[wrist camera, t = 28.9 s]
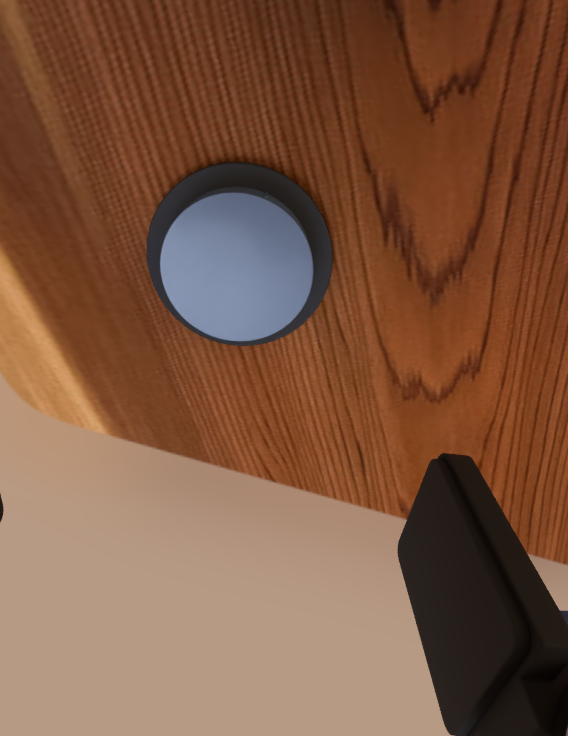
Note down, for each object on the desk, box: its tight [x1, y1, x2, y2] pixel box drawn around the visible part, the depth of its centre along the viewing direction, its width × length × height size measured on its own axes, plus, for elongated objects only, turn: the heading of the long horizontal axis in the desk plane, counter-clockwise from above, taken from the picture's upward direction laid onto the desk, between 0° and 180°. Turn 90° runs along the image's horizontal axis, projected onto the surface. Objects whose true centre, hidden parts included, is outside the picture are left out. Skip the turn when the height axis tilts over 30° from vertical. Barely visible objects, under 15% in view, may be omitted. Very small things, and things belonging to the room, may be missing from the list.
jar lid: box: [160, 187, 313, 341], centre depth 21 cm, size 7×7×2 cm
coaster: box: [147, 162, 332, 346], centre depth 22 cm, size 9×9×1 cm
